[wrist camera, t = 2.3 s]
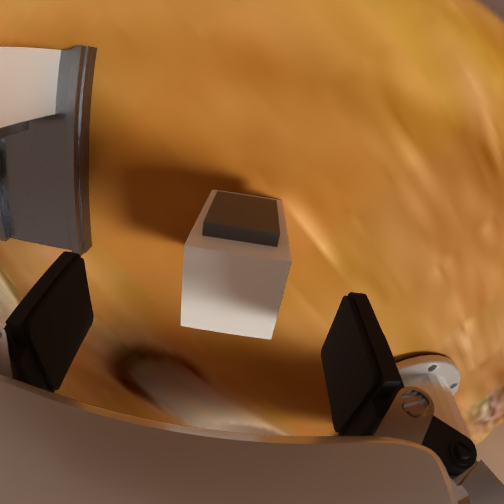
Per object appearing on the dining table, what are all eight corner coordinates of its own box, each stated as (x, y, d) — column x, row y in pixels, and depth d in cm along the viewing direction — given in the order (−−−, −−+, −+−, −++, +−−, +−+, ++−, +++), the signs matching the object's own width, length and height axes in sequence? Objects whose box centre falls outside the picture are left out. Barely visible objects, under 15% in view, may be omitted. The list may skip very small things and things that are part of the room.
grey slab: (91, 245, 20) (81, 257, 18) (12, 230, 19) (0, 240, 18) (96, 47, 14) (83, 45, 12) (6, 63, 13) (-9, 63, 12)
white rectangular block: (269, 260, 20) (270, 339, 14) (205, 250, 20) (180, 325, 13) (284, 190, 18) (294, 247, 11) (213, 179, 17) (185, 230, 11)
